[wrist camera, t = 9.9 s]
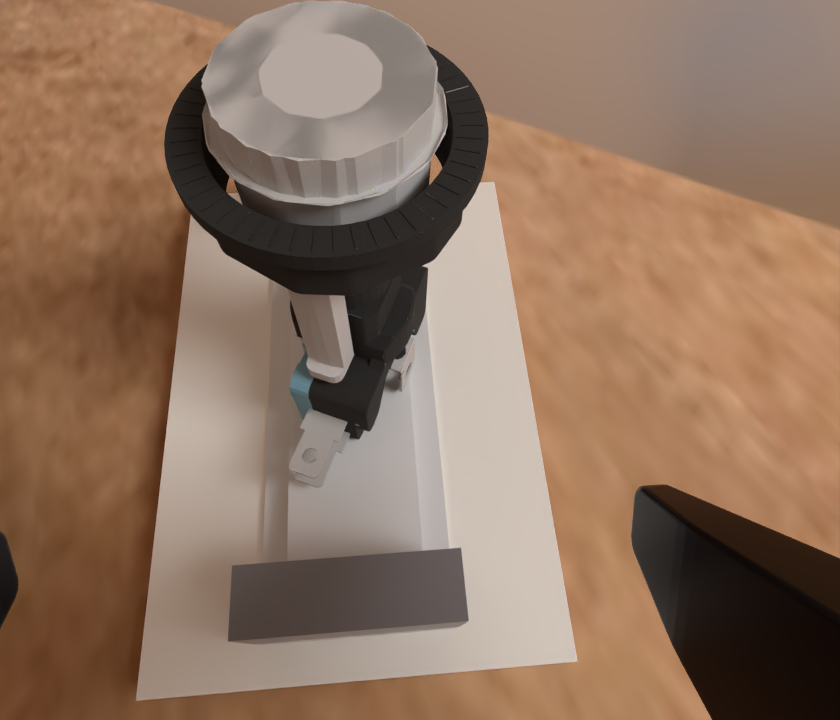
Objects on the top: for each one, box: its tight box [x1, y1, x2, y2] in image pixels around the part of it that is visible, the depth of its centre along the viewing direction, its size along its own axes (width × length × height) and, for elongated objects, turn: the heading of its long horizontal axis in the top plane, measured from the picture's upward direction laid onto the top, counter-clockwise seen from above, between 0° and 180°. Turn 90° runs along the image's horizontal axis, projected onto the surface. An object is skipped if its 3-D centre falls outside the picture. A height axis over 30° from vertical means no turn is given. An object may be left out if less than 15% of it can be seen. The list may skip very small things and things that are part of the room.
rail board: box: [136, 182, 577, 701], centre depth 18 cm, size 16×11×4 cm
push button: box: [164, 1, 488, 488], centre depth 13 cm, size 7×5×10 cm
